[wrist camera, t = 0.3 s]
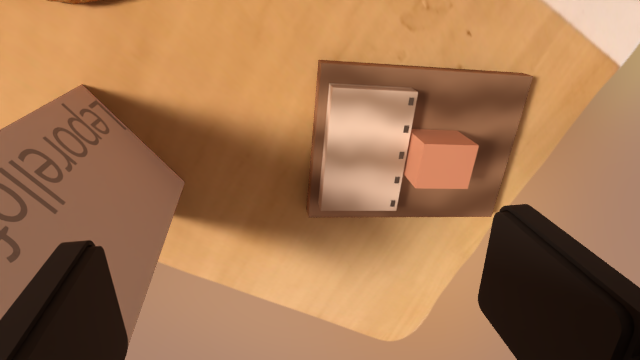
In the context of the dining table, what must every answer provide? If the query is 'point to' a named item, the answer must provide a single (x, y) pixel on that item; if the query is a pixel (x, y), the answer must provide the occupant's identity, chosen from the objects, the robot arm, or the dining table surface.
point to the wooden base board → (407, 137)
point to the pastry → (74, 1)
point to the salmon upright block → (439, 159)
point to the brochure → (82, 197)
